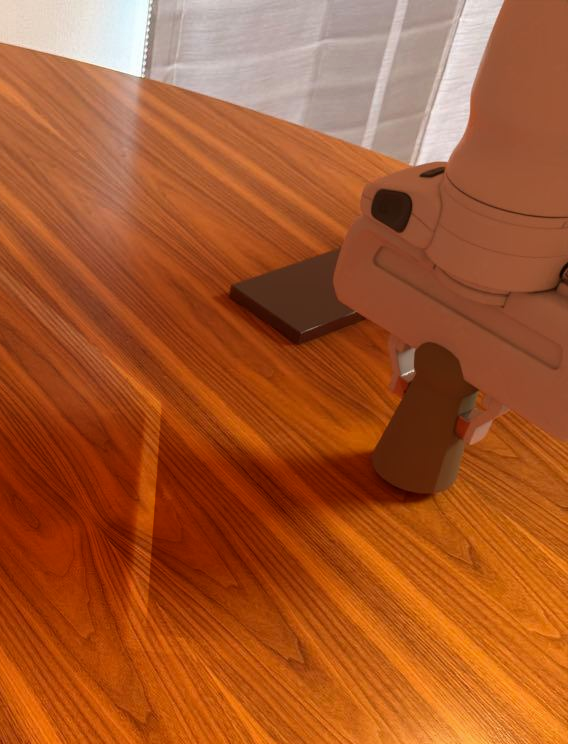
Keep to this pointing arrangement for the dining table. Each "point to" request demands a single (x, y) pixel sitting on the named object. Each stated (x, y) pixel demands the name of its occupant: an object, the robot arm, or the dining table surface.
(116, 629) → the dining table surface
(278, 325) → the slate strip
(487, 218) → the robot arm
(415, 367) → the pepper mill
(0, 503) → the dining table surface
